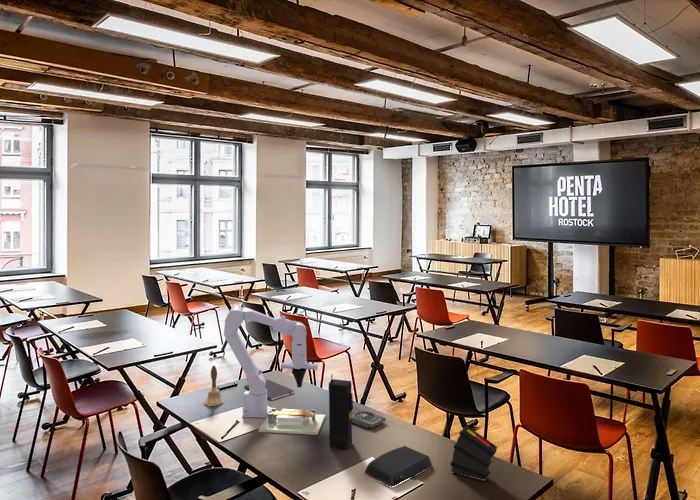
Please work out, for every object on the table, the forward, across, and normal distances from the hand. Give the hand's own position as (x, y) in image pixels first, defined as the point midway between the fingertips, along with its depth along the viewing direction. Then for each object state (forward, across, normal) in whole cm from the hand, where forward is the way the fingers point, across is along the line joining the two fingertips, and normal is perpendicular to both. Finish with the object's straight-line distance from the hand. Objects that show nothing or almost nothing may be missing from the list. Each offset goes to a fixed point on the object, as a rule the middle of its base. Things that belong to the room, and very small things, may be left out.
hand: (299, 386), depth 212 cm
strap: (+7, 0, -12) cm, 14 cm away
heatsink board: (+10, 0, -12) cm, 16 cm away
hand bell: (+11, -38, +5) cm, 40 cm away
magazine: (+11, +64, -43) cm, 78 cm away
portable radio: (+11, +21, -27) cm, 36 cm away
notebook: (+11, -19, +22) cm, 31 cm away
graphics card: (+11, +25, -7) cm, 29 cm away
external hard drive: (+11, +41, -41) cm, 59 cm away
